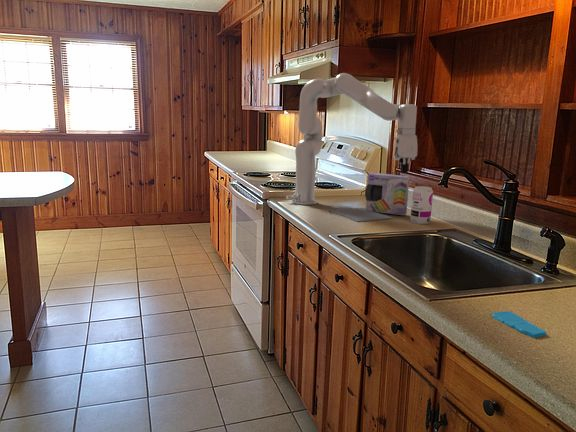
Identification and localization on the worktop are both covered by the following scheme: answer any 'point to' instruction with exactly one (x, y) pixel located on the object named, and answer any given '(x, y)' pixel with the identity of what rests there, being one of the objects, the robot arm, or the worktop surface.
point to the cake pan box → (387, 193)
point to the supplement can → (421, 205)
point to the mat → (361, 214)
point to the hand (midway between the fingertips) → (404, 172)
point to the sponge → (518, 324)
